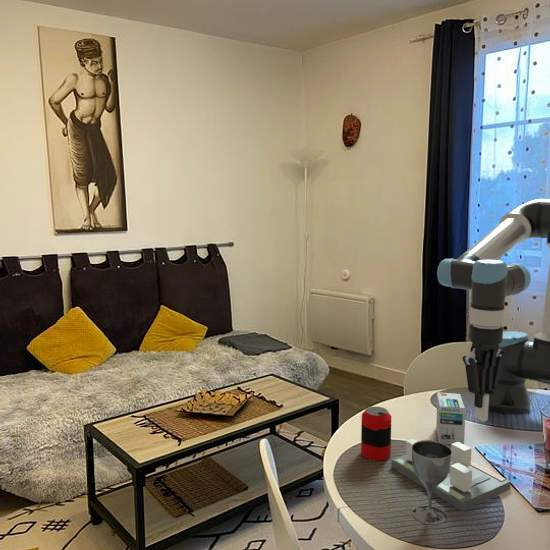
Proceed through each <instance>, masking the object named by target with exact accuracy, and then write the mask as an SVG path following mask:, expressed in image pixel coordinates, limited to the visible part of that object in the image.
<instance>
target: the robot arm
mask: <svg viewBox="0 0 550 550" xmlns="http://www.w3.org/2000/svg"><path fill="white" fill-rule="evenodd" d="M532 238H541V239H546V246H547V247H548V248H549V249H550V198H538V199H532V200H529V201H526V202H524V203H522V204H519V205H518V206H516V207H514V208H513V209H512V208H511V210H509V211H508V212H506V213H505V214H504V215H503V216H502V217H501V218H500V220H499V222H498V224H497V225H496V226H495V227H494V228H493V229H491V230H490V231H489V232H488V233H486V234H485V235H484V236H483V237H482V238H480V239H479V240H478V241H477V242H476V243H474V244H473V245H472V246H471V247H469V249H467V250H466V251H465V252H464V253H462V254H461V255H460V256H459V257H458V258H456V259H455V258H452V257H451V258H444V259H443V260H441V261H440V262H439V265H438V266H437V271H436V276H437V281H438V282H439V284H440V285H442V286H444V287H450V288H452V289H461V290H467V291H468V290H469V291H471V294H470V296H471V297H470V315H469V322H470V323H471V324H470V325H469V329H468V331H469V332H468V339H469V340H470V342H471V347H470V350H469V351H470V353H469V354H468V355H463V356H462V361H463V363H464V367H465V374H466V382H467V390H468V392H469V393H472V394H474V402H473V403H474V404H473V405H474V417H473V418H474V419H477V420H480V421H482V422H486V421H488V419H489V417H488V416H489V411H491V412H494V413H498V414H499V413H500V414H505V415H520V414H524V413H528V412H529V411H530V410H531V399H530V396H529V392H528V389H527V385H526V380H530V381H532V382H533V381H534V382H537V383H541V384H545V385H549V386H550V264H549V266H548V273H547V274H548V275H547V283H546V289H545V296H544V302H543V303H544V305H543V310H542V311H543V313H542V318H541V325H540V326H541V327H540V331H539V332H538V333H536V334H535V335H534V336H533V340H530V337H529V334H528V333H526V332H522V331H504V328H503V326H504V325H505V302H506V297H509V296H516V295H518V294H520V293H522V292H524V291H526V290H527V289H528V288H529V286H530V284H531V279H532V277H531V273H530V271H529V270H528V268H527V267H526V266H524V265H522V264H521V263H520V264H519V263H513V262H512V263H508V264H507V263H506V262H505V261H503V260H500V259H502V258H503V257H504V256H505V255H506V254H507V253H508V252H510V251H511V250H512V249H513V248H514V247H515V246H516V245H517V244H520V243H523V242H525V241H527V240H528V239H532Z"/></svg>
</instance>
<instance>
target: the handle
mask: <svg viewBox="0 0 550 550" xmlns="http://www.w3.org/2000/svg"><path fill="white" fill-rule="evenodd" d="M418 441H419V440H416V439H415V438H411V439H408V440H406V441H405V443H406V444H405V455H406V458H407V459H408V460H410V461H412V446H413V444H414V443H416V442H418Z"/></svg>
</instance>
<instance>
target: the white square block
mask: <svg viewBox="0 0 550 550" xmlns="http://www.w3.org/2000/svg"><path fill="white" fill-rule="evenodd" d="M450 449H451V452H452V454H451V462H453V463H455V464H456V463H460V464H461V465H463V466H465V467H469V466H471V461H472V447H470V446H468V445H466V444H465V443H464V444H462V443H460V442H456V443H453V444H450Z"/></svg>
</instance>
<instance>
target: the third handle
mask: <svg viewBox="0 0 550 550" xmlns="http://www.w3.org/2000/svg"><path fill="white" fill-rule="evenodd" d="M450 484H451V485H452V486H454V487H456V488H457V489H459V490H461V491H463V492H466V491H468V490H471V488H472V470H471V469H469V468H467V467H465V466H463V465H461V464H460V463H456V464H453V465H451V466H450Z"/></svg>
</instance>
